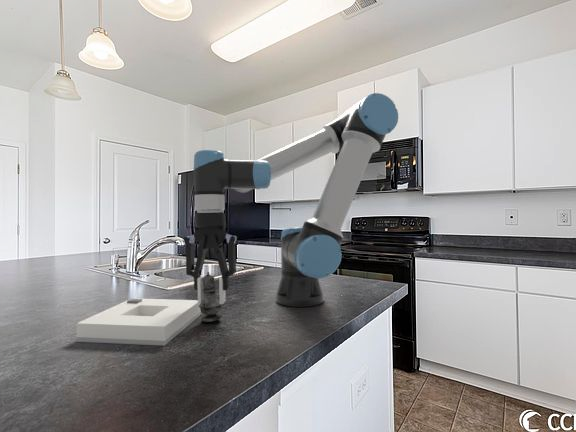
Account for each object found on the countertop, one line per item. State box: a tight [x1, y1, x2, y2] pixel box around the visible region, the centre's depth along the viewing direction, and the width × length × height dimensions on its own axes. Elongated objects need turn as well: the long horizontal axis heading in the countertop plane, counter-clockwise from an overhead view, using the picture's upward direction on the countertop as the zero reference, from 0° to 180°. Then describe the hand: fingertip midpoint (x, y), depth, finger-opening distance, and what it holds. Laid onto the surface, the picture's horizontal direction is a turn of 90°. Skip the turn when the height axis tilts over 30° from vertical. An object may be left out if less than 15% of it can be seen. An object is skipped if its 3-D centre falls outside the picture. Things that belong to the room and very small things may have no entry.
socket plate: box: [76, 297, 202, 346], centre depth 77 cm, size 20×20×5 cm
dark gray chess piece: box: [199, 271, 223, 322], centre depth 80 cm, size 6×6×12 cm
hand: (212, 302), depth 80 cm, fingers closed on dark gray chess piece, 5 cm apart
